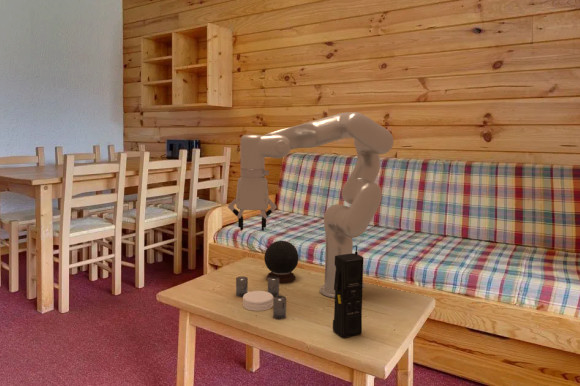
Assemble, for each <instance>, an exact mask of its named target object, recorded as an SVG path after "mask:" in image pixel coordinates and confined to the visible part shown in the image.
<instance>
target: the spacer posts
mask: <svg viewBox="0 0 580 386" xmlns="http://www.w3.org/2000/svg"><path fill="white" fill-rule="evenodd" d="M248 281H249V280H248V277H247V276H241V275H240V276H237V277H236V278H235V296H237V297H240V298H243V296H244V295H245V294H246V293H248V292H249V290H248V288H249V287H248V285H249V283H248ZM267 292H269V293H271V294H272V295H273V306H272V317H273V319H275V320H284V319H286V317H287V297H286V296H284V295H280V284H279V278H278V277H269V278H268V280H267Z"/></svg>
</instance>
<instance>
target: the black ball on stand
mask: <svg viewBox="0 0 580 386" xmlns="http://www.w3.org/2000/svg"><path fill="white" fill-rule="evenodd" d="M299 259H300V258H299V252H298V250H297V248H296V247H295V246H294V244H292V243H291V242H290V241H287V240H276V241H273V242H272V243H270V245H268V247H267V248H266V250H265V252H264V264H265V266H266V268H267V269H268V271H269V272H268V274H267V275H266V281H268V278H269V277H278V278H279V285H280V284H281V285H284V284H286V285H287V284H290V283H293V282H295V281H296V279H297V277H296V275H295V273H293V271H294V270H295V269H296V268H297V266H298V263H299Z"/></svg>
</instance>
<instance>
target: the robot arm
mask: <svg viewBox="0 0 580 386" xmlns="http://www.w3.org/2000/svg"><path fill="white" fill-rule="evenodd" d="M348 138H349V139H353V144H354V148H355V151H356V156H357V157H356V163H355V166H354V168H353V170H352V172H351V173H350V175H349V177H348V178H347V180H346V181H345V184H344V185H343V187H342V190H341V198H342V199H343V201H345V203H347V204H350V206H346V205H344V204H338V203H337V204H333V205H330V206H329V207H328V208H327V209H326V210H325V212H324V216H323V225H324V234H325V254H324V255H325V259H324V260H325V262H324V284H322V285H321V286H320V287H319V292H320V293H321V294H322V295H324V296H325V297H328V298H332V299H335V290H334V282H335V271H336V267H335V256H337V255H344V254H351V253H353V251H354V249H353V247H354V246H353V245H354V243H353V239H355V238H358V237H361V236H362V235H363V234H364V233H365V232H366V230H367V229H368V228H369V225H370V224H371V222H372V220H373V219H374V216H375V214H376V212H377V211H378V209H379V208H380V205H381V202H382V198H383V197H382V196H383V194H382V189H381V186H380V185H379V184H378V183H376V182H375V181H376V179H377V178H378V175H379V174H380V169H381V160H380V155H384V154H387V153H389V152H390V151H391V150H392V148H393V147H394V137H393V135H392V133H391V132H390V131H389V130H388V129H387V128H385V127H384V126H382V125H380V124H379V123H377V122H376V121H374V120H373V119H371V118H369V117H368V116H367V115H365V114H363V113H360V112H357V111H356V112H355V111H353V112H351V111H350V112H349V111H348V112H339V113H336V114H333V115H329V116H326V117H323V118H319V119H315V120H311V121H308V122H305V123H301V124H298V125H297V124H296V125H294V126H290V127H287V128H286V127H285V128H282V129H277V130H275V131H271V132H268V133H265V134H263V135H261V134H244V135H242V136H241V137H240V177H238V178H237V185H236V195H235V196H236V197H235V198H234V199H233V200H232V201H231V202H230V203H229V204H228V205H227V207H228V209H229V210H230V211H231V212H232V213H233V215H235V216H236V217H237V218H238V219H237V221H238V222H237V223H238V226H237V227H238V228H239V229H240V231H243V230H244V217H243V214H244V211H260V212H261V216H262V217H261V231H263V232H264V230H265V228H267V219H268V218H269V216H270V215H272V213H273V212H274V211H275V210H276V209H277V208H278V206H277V204H276V203H275V202H273V201H272V199H270V197H269V185H268V183H269V182H268V179H267V177H265V176H269V175H270V170H268V169H267V170H266V169H265V162H266V161H265V160H266V159H265V158H272V159H282V158H285V157H286V156H288V155H289V154H290V152H291V150H294V149H295V150H296V149H310V148H317V147H321V146H324V145H327V144H330V143H333V142H336V141H337V142H338V141H340V140H344V139H348ZM235 205H236V208H235ZM268 206H270V208H269V209H268ZM267 209H268V210H267ZM365 288H366V286H365V282H363V286H362V289H365Z"/></svg>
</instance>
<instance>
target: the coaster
mask: <svg viewBox="0 0 580 386" xmlns="http://www.w3.org/2000/svg"><path fill="white" fill-rule="evenodd" d="M273 298H274V297H273V295H272V294H271V293H269V292H268V291H267V290H266V291H264V290H250V291H248V293H246V294H245V295H244V296H243V297H242V305H243V308H244V309H245V310H248V311H250V312H251V311H252V312H263V311H268V310H270V309H272V308H273Z"/></svg>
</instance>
